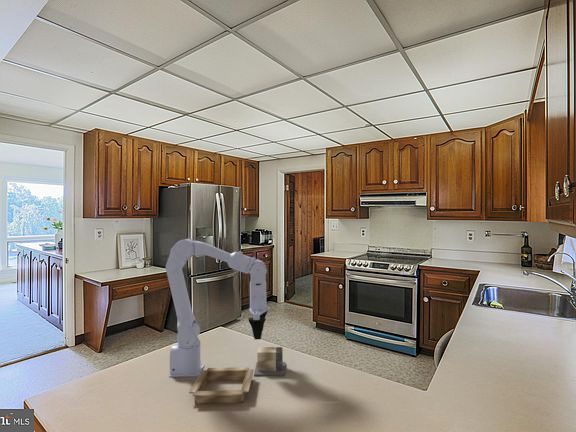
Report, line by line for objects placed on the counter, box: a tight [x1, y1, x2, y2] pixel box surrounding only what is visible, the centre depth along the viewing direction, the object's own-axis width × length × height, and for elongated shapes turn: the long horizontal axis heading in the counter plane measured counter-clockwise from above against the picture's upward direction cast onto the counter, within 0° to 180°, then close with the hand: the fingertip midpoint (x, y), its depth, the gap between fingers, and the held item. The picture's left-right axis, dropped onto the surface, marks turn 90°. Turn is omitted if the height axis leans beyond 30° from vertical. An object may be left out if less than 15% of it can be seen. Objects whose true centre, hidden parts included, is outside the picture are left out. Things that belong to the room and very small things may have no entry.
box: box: [256, 346, 284, 371], centre depth 107 cm, size 8×4×6 cm, turn 88°
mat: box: [253, 361, 286, 377], centre depth 107 cm, size 10×9×1 cm
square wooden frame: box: [188, 366, 255, 404], centre depth 94 cm, size 16×16×3 cm
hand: (258, 335), depth 110 cm, fingers open, 7 cm apart
